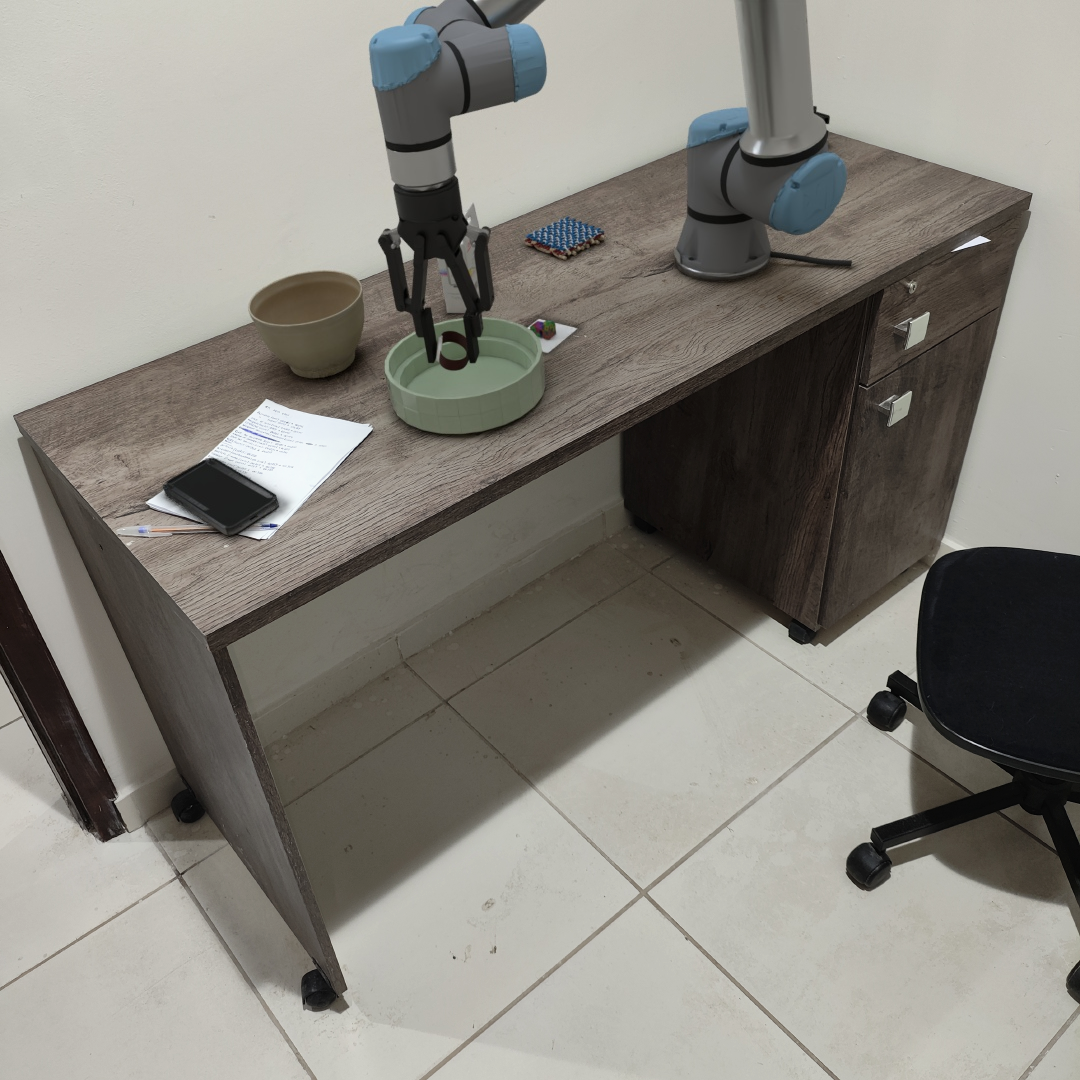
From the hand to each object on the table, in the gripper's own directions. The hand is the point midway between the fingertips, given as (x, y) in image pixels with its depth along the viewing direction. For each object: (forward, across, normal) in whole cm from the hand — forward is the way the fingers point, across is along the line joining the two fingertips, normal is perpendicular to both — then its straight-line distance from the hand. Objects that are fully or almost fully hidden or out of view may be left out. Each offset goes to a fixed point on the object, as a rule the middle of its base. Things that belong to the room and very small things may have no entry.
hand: (454, 357), depth 126 cm
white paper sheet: (+8, -8, -20) cm, 23 cm away
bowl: (+8, 0, -4) cm, 9 cm away
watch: (+1, 0, 0) cm, 1 cm away
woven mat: (+8, -7, -52) cm, 53 cm away
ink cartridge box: (+8, +6, -31) cm, 33 cm away
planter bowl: (+8, +24, -12) cm, 28 cm away
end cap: (+8, -48, -94) cm, 106 cm away
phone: (+8, +26, +20) cm, 34 cm away
